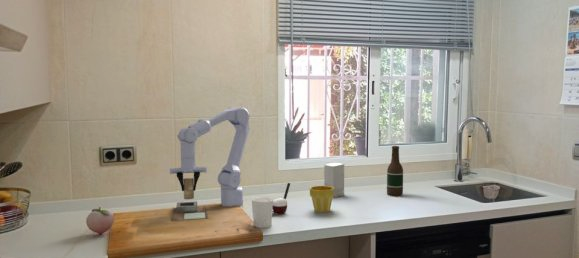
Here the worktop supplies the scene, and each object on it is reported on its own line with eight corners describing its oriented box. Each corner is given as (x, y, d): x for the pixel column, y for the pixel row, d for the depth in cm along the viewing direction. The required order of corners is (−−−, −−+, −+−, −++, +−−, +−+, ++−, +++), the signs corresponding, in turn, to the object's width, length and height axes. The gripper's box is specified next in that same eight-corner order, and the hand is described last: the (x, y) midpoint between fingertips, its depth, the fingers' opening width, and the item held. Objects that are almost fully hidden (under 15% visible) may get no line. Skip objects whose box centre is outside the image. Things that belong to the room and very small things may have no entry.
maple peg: (193, 196, 187) (193, 177, 186) (193, 199, 183) (193, 179, 182) (183, 197, 186) (183, 178, 185) (183, 199, 182) (183, 180, 181)
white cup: (257, 229, 165) (256, 202, 164) (248, 224, 172) (248, 198, 171) (276, 226, 168) (276, 200, 168) (267, 221, 175) (267, 196, 175)
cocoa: (271, 216, 184) (269, 187, 183) (268, 212, 190) (267, 184, 189) (293, 214, 186) (292, 185, 184) (290, 209, 192) (289, 182, 191)
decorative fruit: (80, 236, 158) (79, 208, 157) (98, 230, 165) (97, 203, 164) (101, 239, 154) (100, 211, 154) (118, 232, 162) (117, 205, 161)
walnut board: (206, 209, 195) (206, 205, 194) (208, 222, 174) (208, 218, 174) (172, 211, 192) (172, 207, 192) (170, 225, 171) (170, 221, 171)
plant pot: (304, 210, 191) (304, 188, 191) (320, 206, 199) (320, 184, 198) (323, 215, 184) (323, 191, 184) (339, 210, 192) (339, 187, 191)
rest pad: (204, 213, 183) (204, 212, 183) (205, 218, 175) (205, 217, 175) (184, 214, 181) (184, 213, 181) (184, 219, 173) (184, 218, 173)
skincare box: (335, 193, 225) (335, 162, 224) (345, 195, 220) (345, 163, 219) (323, 195, 219) (323, 164, 218) (333, 197, 215) (333, 165, 213)
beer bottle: (404, 196, 216) (405, 147, 214) (388, 196, 216) (389, 147, 215) (401, 193, 224) (401, 145, 222) (385, 193, 224) (385, 145, 222)
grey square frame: (197, 207, 192) (197, 201, 192) (197, 212, 184) (197, 206, 184) (177, 208, 191) (176, 202, 190) (176, 213, 182) (176, 207, 182)
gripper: (168, 159, 178) (169, 193, 179) (206, 158, 180) (207, 191, 181) (170, 157, 184) (170, 189, 185) (206, 155, 187) (206, 188, 188)
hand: (188, 190), depth 184 cm, fingers closed on maple peg, 4 cm apart
